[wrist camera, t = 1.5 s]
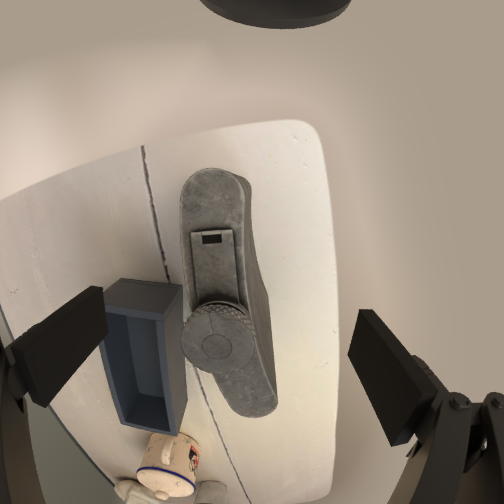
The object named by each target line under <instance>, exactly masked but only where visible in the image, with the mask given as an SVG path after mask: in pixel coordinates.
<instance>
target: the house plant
mask: <svg viewBox="0 0 504 504" xmlns="http://www.w3.org/2000/svg"><path fill="white" fill-rule="evenodd" d="M194 504H229V502H228V494H227V487H226V485H225V484H223V483H221V482H217V481H204V482H202V484H201V486H200V489H199V492H198V494H197V497H196V499H195V502H194Z"/></svg>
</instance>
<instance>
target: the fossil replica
mask: <svg viewBox="0 0 504 504" xmlns="http://www.w3.org/2000/svg"><path fill="white" fill-rule="evenodd" d="M114 489H115V491H116V493H117V494H118V496H119V497H120V498H122V499H123V500H124V501H125V502H126V503H125V504H164V501H163V500H162V499H159V498H157V497H156V496H155V492H153V491H152V490H151V489H149V488H147V487H146V486H144V485H143V484H140V483H138V482H135V481H132V480H123V481H121V482H120V483H117V484H115V488H114Z"/></svg>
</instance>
